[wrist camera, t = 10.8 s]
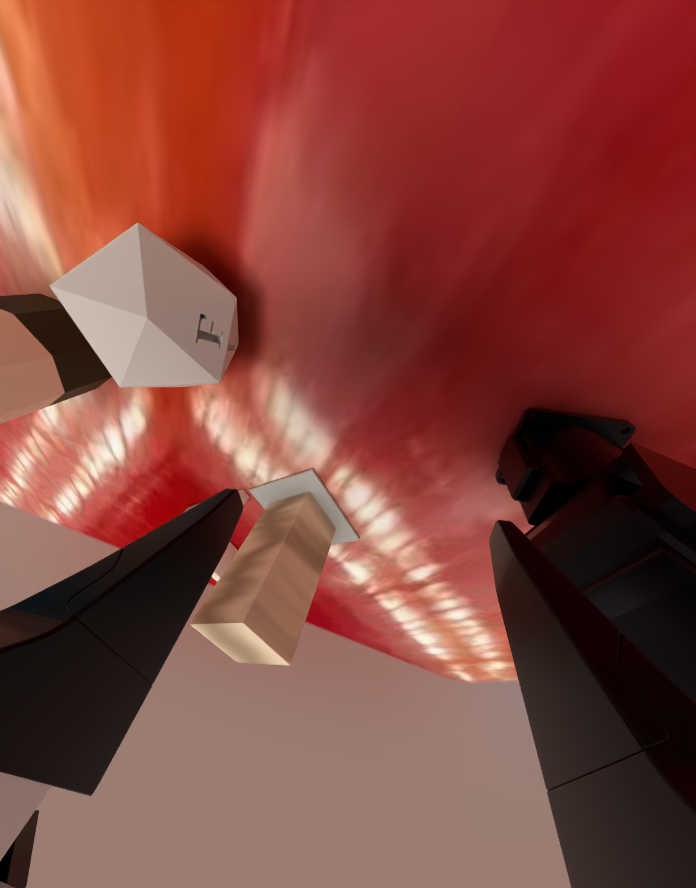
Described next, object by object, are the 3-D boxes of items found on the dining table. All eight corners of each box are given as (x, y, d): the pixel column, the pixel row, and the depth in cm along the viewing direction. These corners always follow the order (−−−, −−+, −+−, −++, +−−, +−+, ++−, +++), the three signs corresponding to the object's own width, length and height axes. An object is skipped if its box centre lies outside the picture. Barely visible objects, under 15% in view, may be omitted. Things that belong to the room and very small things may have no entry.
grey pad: (312, 468, 26) (311, 469, 26) (359, 537, 30) (359, 540, 30) (250, 488, 30) (248, 490, 30) (299, 548, 34) (298, 550, 33)
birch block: (309, 491, 28) (242, 622, 17) (336, 528, 30) (290, 665, 19) (269, 502, 30) (189, 624, 20) (296, 536, 32) (237, 662, 22)
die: (227, 390, 25) (229, 421, 16) (98, 359, 21) (10, 380, 12) (247, 290, 23) (262, 265, 14) (109, 234, 19) (13, 150, 10)
